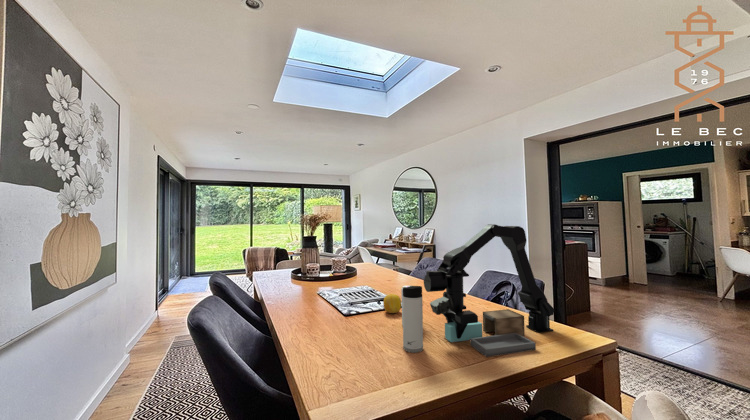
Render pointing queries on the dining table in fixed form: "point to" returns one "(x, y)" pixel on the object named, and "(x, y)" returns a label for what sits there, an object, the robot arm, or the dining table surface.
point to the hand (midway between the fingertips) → (455, 336)
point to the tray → (502, 344)
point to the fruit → (392, 303)
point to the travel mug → (412, 319)
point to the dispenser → (503, 322)
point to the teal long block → (470, 332)
